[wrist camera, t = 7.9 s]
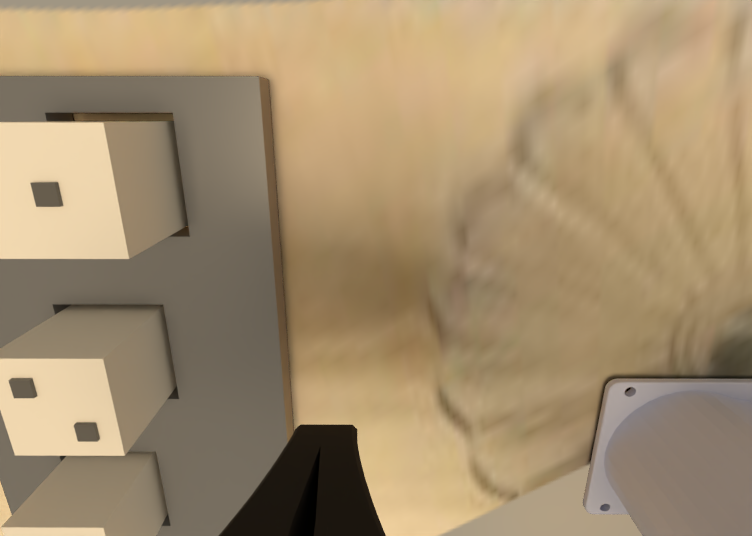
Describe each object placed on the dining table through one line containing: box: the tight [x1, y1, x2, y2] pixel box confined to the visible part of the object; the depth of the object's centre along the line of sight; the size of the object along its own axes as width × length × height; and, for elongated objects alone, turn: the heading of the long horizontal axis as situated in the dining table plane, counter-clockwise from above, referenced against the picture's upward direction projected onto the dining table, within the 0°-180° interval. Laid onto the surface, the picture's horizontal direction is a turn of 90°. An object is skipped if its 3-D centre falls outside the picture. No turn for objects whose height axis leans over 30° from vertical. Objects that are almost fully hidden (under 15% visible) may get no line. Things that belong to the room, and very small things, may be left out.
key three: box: [1, 452, 168, 536], centre depth 20 cm, size 4×4×5 cm
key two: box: [0, 304, 177, 456], centre depth 18 cm, size 4×4×5 cm
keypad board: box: [0, 76, 294, 536], centre depth 20 cm, size 14×22×2 cm, turn 0°
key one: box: [0, 121, 188, 259], centre depth 15 cm, size 4×4×5 cm
